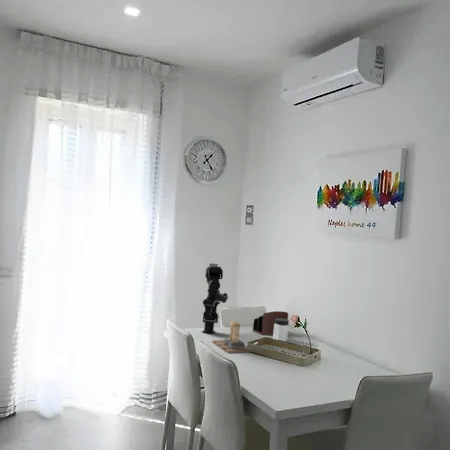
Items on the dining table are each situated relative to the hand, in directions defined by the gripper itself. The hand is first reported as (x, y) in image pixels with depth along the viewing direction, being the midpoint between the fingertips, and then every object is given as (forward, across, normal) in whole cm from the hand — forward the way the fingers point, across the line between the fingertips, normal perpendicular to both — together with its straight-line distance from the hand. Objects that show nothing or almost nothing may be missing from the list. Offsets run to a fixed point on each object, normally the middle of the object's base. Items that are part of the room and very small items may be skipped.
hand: (211, 315), depth 277 cm
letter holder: (+13, +36, -29) cm, 48 cm away
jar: (+13, +20, -38) cm, 45 cm away
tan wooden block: (+12, -13, -17) cm, 25 cm away
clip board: (+13, -12, -16) cm, 24 cm away
